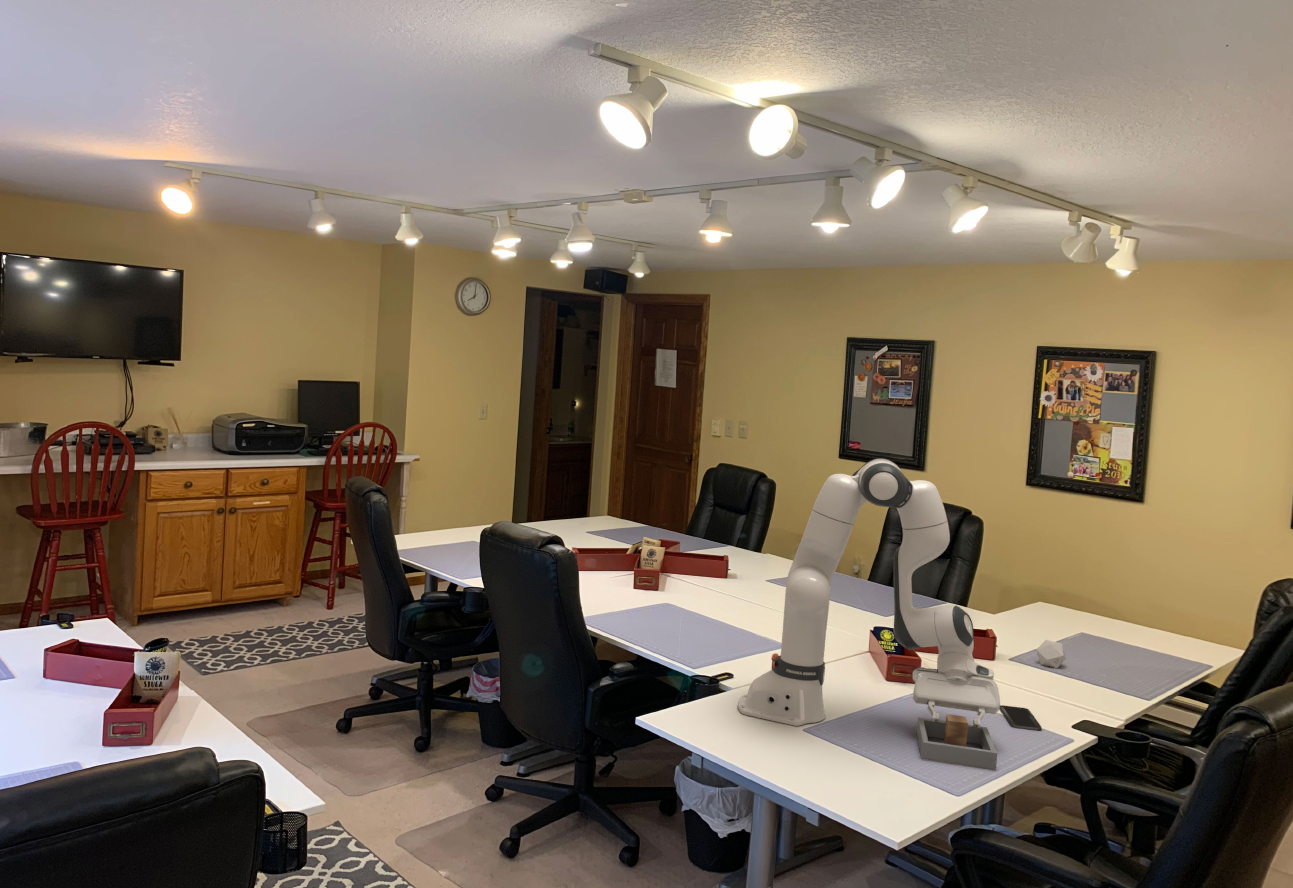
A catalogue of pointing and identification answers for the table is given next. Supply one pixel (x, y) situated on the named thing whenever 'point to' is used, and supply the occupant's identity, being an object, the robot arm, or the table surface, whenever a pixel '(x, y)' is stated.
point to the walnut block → (956, 730)
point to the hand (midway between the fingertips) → (956, 723)
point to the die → (1051, 654)
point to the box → (953, 752)
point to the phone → (1020, 718)
